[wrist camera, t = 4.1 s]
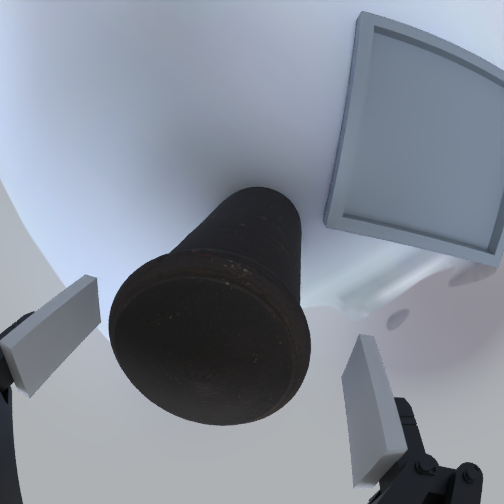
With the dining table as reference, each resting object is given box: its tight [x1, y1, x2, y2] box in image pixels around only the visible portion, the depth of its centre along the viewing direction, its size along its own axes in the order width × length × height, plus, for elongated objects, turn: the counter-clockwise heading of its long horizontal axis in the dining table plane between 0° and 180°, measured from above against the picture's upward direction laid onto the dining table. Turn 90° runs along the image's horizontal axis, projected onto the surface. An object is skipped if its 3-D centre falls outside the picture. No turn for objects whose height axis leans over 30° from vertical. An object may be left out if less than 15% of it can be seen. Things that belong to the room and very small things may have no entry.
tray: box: [323, 11, 504, 268], centre depth 23 cm, size 20×20×2 cm
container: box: [109, 187, 311, 426], centre depth 20 cm, size 9×9×20 cm
